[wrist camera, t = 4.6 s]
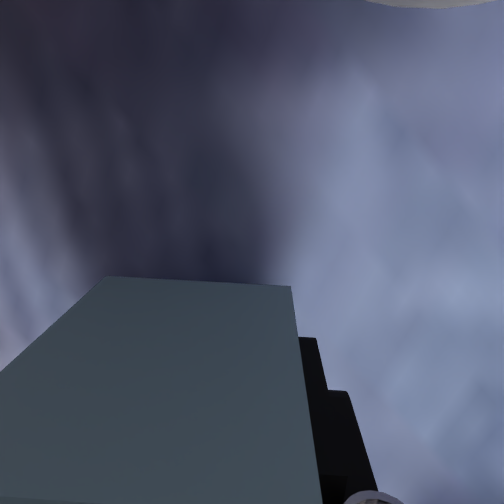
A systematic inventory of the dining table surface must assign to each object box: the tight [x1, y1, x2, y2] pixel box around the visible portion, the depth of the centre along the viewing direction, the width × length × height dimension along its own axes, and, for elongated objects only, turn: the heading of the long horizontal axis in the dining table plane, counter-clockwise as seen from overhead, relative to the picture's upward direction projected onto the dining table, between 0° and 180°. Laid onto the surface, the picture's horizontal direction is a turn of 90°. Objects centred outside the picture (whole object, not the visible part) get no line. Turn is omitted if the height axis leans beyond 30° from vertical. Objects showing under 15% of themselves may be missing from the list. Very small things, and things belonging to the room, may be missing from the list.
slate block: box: [0, 276, 323, 504], centre depth 8 cm, size 5×5×6 cm
